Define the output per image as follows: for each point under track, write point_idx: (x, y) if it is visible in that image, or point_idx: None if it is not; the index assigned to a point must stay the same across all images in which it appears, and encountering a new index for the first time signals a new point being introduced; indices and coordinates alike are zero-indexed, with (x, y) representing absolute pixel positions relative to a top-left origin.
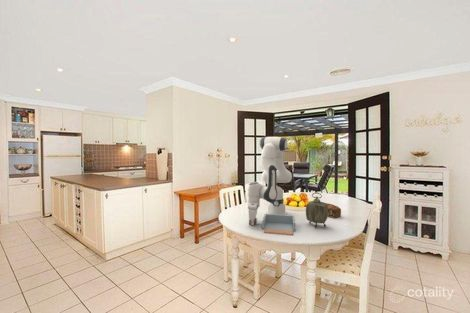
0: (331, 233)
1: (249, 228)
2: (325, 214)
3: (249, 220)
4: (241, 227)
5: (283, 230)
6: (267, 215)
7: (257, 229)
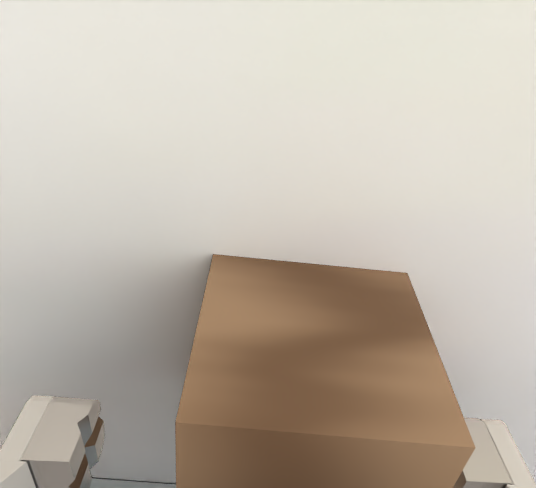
0: None
1: (66, 271)
2: None
3: (179, 417)
4: (60, 23)
5: None
6: None
7: None
